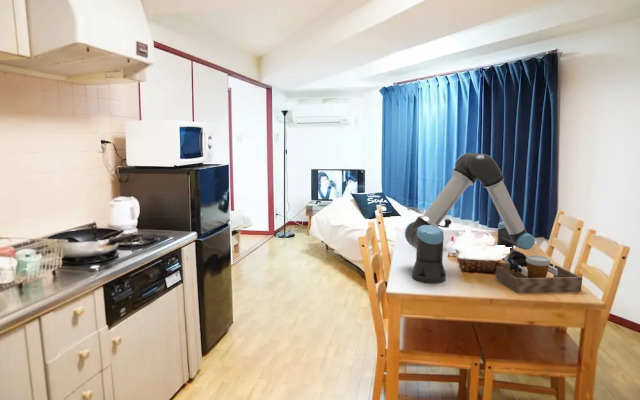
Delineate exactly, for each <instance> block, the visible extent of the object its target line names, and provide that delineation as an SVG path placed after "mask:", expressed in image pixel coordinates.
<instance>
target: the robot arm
mask: <svg viewBox="0 0 640 400" xmlns="http://www.w3.org/2000/svg"><path fill="white" fill-rule="evenodd" d="M454 163H455V164H454V165H455V166H454V168H453V170H452V176H451V178H450V179H449V181H448V182H447V183H446V184H445V186H444V187H443V189H442V190H441V192H440V193H439V194H438V195H437V197H436V198H435V199H434V200H433V202H432V204H430V206H429V208H428V209H427V210H426V211H425V213H424V214H423V215H419V216H418V217H417V218H416V219H415V221H412V222H410V223H408V225H406V228H405V230H404V238H405V240H406V241H407V243H408V244H409V245H411V247H413V248H414V249H416V250H415V251H416V255H415V262H414V265H413V268H412V270H411V278H412V279H413V280H414V281H418V282H421V283H430V284H438V283H443V282H445V281H446V278H447V274H446V270H445V267H444V264H443V256H444V240H445V236H444V230H443V228H442V227H440V226H438V225H441V223H442V221H444V220H445V217H446V216H447V215H448V213H449V212H450V211H451V210H452V208H453V207H454V205H455V204H456V203H457V202H458V200H459V199H460V197H462V195H463V194H464V192H465V191H466V189H467V188H468V187H469V186H474V184H475V183H476V182H477V180H478V181H479V182H480V184H481V185H482V188H485V189H486V190H487V192H488V194H489V196H490V198H491V200H492V202H493V204H494V207H495V208H496V211H497V212H498V215H499V217H500V219H501V221H500V222H499V223H498V225H497V243H496V245H505V246H506V247H512V248H510V253H509V254H508V255H507V256H506V257H505V258H503V259H502V261H503V262H505V263H506V265H507V266H508V269H509V272H513V273H515V274H516V273H520V274H521V275H523V276H524V277H528V270H527V262H526V259H527V255H525V254H524V253H523V252H521V251H519V250H517V249H515V247H516V248H518V249H521V250H529V249H531V248H533V247H534V245H535V237H534V236H533V235H532V234H530V233H528V232H527V229H526V227H525V225H524V223H523V221H522V219H521V216H520V215H519V213H518V210H517V208H516V206H515V204H514V201H513V200H512V198H511V195H510V194H509V191H508V189H507V187H506V184H505V183H504V180H505V177H504V175H503V172H502V170H501V169H500V167H499V165H498V163H497V162H496V161H495V160H494V159H493V157H491V156H490V155H488V154H487V153H476V152H466V153H463V154H461V155H460V156H459V157H458V158H457V159H456V161H455V162H454ZM514 246H515V247H514ZM547 273H549V274H551V275H552V276H554V275H555V276H557V274H558V269H556V268H554V263H551V262H550V265H549V267H548V271H547Z"/></svg>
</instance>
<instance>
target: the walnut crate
mask: <svg viewBox="0 0 640 400" xmlns="http://www.w3.org/2000/svg"><path fill="white" fill-rule="evenodd" d="M553 267H554V268H556V269H558V274H557V276H555V275H552V277H546V278H528V277H517V276H516V275H513V274H511V272H510V271H507V270H506V269H504V268H502V267H501V266H496V276H495V279H496V280H497V281H498V282H500V283H501V284H502V285H503V286H505V287H506V288H508V289H510V290H511V291H512V292H514V293H515V294H533V293H537V294H538V293H568V292H569V293H571V292H572V293H573V292H574V293H575V292H577V293H578V292H582V286H583V277H582V276H580V275H577V274H575V273H574V272H572V271H569V270H567V269H566V268H563V267H561V266H559V265H556V264H555V265H554V264H553Z"/></svg>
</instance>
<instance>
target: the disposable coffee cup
mask: <svg viewBox="0 0 640 400" xmlns="http://www.w3.org/2000/svg"><path fill="white" fill-rule="evenodd" d="M526 257H527V259H526V262H527V267H526V269H527V270H528V276H527V278H547V275H548V267H549V265H550V263H551V261H550V258H549V257H546V256H542V255H526Z"/></svg>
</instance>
